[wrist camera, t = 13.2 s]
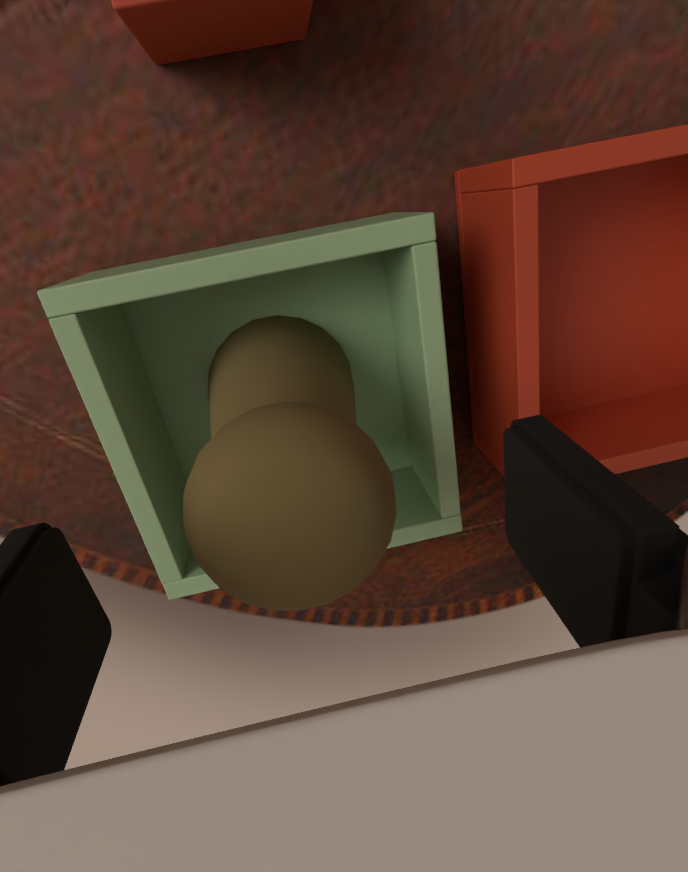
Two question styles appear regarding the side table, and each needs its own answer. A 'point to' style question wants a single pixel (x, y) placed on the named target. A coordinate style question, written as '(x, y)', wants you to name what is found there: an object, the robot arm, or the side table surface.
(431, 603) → the side table surface
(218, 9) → the rust block
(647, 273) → the rust bin
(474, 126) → the side table surface
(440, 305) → the sage bin
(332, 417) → the olive brown pawn
